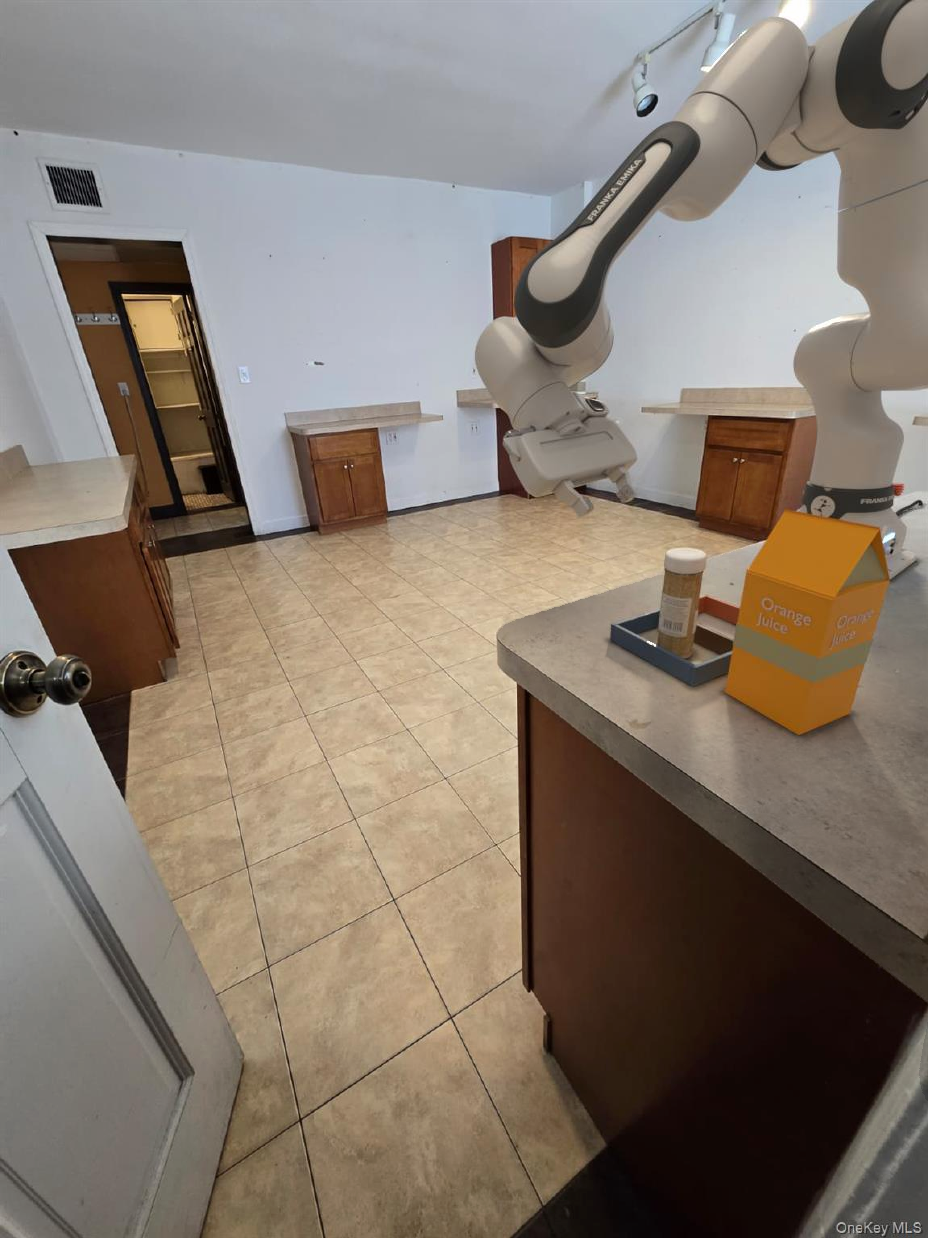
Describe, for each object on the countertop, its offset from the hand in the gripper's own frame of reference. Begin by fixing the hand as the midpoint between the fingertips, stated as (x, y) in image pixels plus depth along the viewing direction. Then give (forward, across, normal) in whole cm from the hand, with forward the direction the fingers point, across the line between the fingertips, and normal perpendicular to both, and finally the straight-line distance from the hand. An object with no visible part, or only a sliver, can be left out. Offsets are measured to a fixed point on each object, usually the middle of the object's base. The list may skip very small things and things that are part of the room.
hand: (609, 505), depth 66 cm
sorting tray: (+21, +4, +4) cm, 22 cm away
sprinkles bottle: (+20, 0, +5) cm, 21 cm away
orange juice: (+30, -2, -5) cm, 30 cm away
